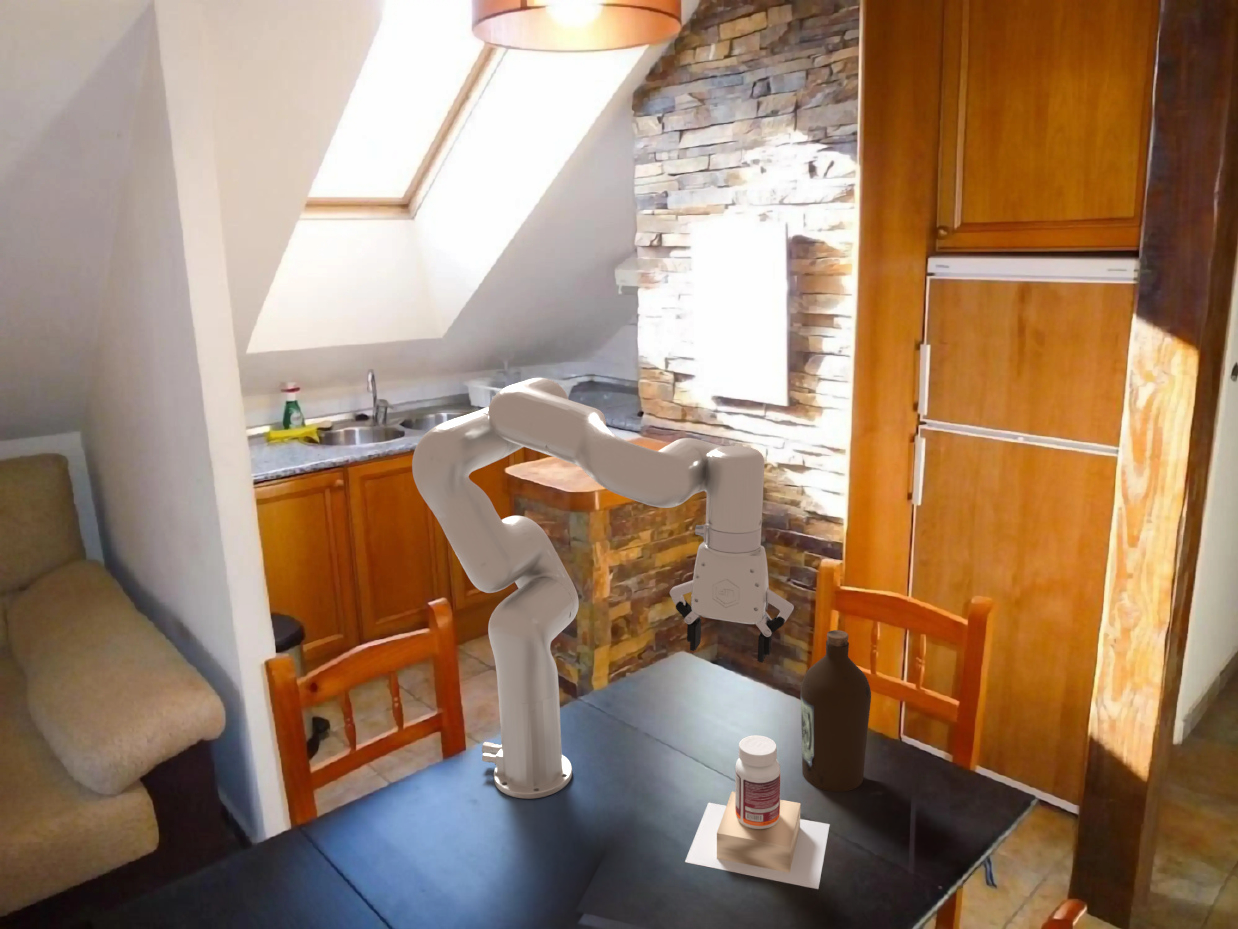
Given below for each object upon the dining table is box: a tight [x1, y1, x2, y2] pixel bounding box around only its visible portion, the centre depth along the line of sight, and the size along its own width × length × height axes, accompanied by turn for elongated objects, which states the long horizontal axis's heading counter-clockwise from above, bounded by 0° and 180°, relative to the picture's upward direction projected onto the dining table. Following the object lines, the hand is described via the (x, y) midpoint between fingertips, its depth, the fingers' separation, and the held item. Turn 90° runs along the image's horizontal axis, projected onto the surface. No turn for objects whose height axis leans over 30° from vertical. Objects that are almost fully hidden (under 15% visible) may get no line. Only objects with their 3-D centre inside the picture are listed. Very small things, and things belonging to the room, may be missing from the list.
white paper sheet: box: [684, 802, 831, 890], centre depth 127 cm, size 18×14×1 cm
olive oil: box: [799, 629, 872, 793], centre depth 140 cm, size 11×11×25 cm
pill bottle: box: [734, 734, 781, 829], centre depth 124 cm, size 6×6×11 cm
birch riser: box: [717, 790, 802, 873], centre depth 126 cm, size 10×10×4 cm
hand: (728, 652), depth 126 cm, fingers open, 9 cm apart
